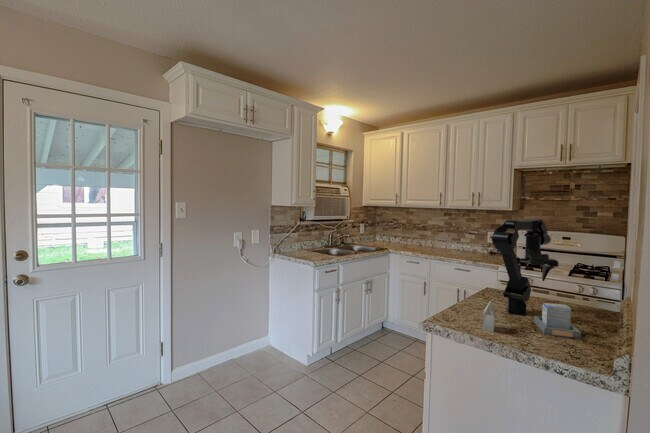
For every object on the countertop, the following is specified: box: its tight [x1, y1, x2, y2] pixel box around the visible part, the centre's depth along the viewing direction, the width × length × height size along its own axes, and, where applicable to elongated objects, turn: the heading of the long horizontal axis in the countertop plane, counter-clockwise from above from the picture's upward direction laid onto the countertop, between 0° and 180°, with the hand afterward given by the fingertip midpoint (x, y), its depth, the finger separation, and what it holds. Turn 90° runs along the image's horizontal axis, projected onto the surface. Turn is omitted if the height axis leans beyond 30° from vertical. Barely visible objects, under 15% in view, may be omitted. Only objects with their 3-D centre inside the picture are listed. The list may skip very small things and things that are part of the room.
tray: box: [533, 315, 582, 340], centre depth 120 cm, size 11×13×2 cm
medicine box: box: [541, 302, 572, 330], centre depth 120 cm, size 8×4×9 cm, turn 74°
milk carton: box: [482, 300, 496, 333], centre depth 121 cm, size 4×7×10 cm, turn 149°
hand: (531, 279), depth 145 cm, fingers open, 9 cm apart
